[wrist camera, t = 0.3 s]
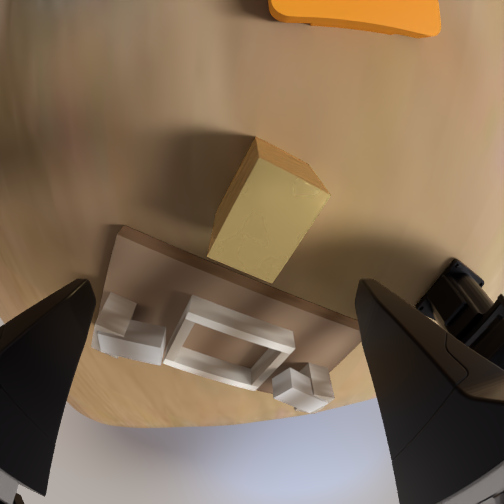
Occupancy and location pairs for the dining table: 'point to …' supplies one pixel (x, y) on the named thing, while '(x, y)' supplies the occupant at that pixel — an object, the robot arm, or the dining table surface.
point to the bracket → (363, 15)
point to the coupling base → (218, 324)
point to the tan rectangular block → (266, 211)
